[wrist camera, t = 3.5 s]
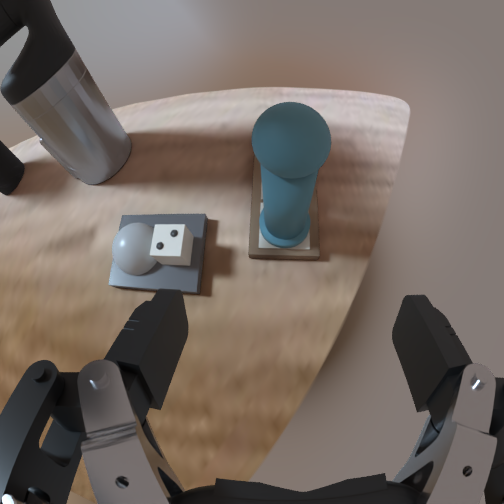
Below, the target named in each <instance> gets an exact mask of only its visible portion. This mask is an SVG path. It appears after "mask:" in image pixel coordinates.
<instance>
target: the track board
mask: <svg viewBox="0 0 504 504" xmlns="http://www.w3.org/2000/svg"><path fill="white" fill-rule="evenodd" d="M263 208H264V205H263V191H262V178H261V165H260V162H259V161H258V159H257V158H256V156H255V153H254V168H253V184H252V201H251V218H250V235H249V252H248V255H249V258H265V259H305V260H318V258H319V256H320V254H319V225H318V206H317V190H316V183H315V187H314V191H313V195H312V199H311V203H310V207H309V211H308V213H309V215H310V221H311V222H310V229H309V232H308V235H307V237H306V238H305V240H304V241H303V242H302V243H300V244H299V245H297V246H295V247H292V248H278V247H275V246H273V245H271V244H270V243H268V242H267V241H266V240H265V239H264V237H263V236H262V234H261V231H260V225H259V218H260V214H261V211H262V210H263Z"/></svg>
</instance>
